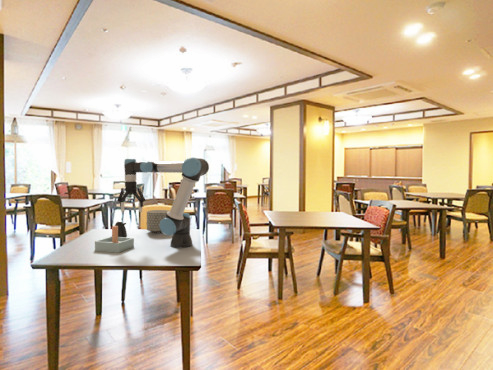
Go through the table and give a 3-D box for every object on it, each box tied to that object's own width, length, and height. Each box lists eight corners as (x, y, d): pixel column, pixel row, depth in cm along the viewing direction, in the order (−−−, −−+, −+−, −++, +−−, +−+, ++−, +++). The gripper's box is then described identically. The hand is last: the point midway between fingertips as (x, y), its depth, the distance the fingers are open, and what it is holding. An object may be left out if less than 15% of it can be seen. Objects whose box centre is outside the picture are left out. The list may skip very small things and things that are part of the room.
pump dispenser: (121, 244, 217) (121, 222, 216) (108, 243, 219) (108, 222, 218) (130, 240, 227) (130, 220, 226) (117, 240, 229) (117, 219, 228)
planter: (164, 229, 272) (164, 209, 271) (173, 233, 257) (173, 211, 257) (143, 231, 260) (143, 210, 259) (152, 235, 245) (152, 213, 245)
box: (133, 246, 210) (133, 238, 210) (118, 252, 195) (118, 243, 194) (111, 244, 214) (111, 236, 214) (94, 250, 199) (94, 241, 199)
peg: (115, 247, 202) (115, 227, 202) (110, 247, 203) (110, 226, 202) (119, 246, 206) (119, 226, 205) (114, 246, 207) (114, 225, 206)
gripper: (149, 180, 212) (150, 211, 213) (117, 181, 217) (118, 210, 218) (144, 181, 205) (145, 212, 206) (111, 181, 210) (112, 212, 211)
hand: (131, 211), depth 212 cm, fingers open, 13 cm apart
